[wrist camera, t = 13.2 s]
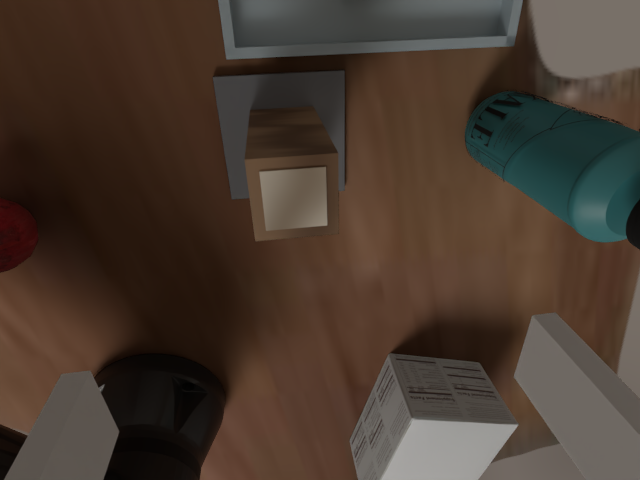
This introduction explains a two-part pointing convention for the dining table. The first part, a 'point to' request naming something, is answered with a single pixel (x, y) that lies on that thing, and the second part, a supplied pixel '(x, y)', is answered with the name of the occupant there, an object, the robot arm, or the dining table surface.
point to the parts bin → (363, 26)
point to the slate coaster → (277, 92)
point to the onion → (15, 234)
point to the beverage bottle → (562, 162)
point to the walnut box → (291, 174)
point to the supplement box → (430, 421)
